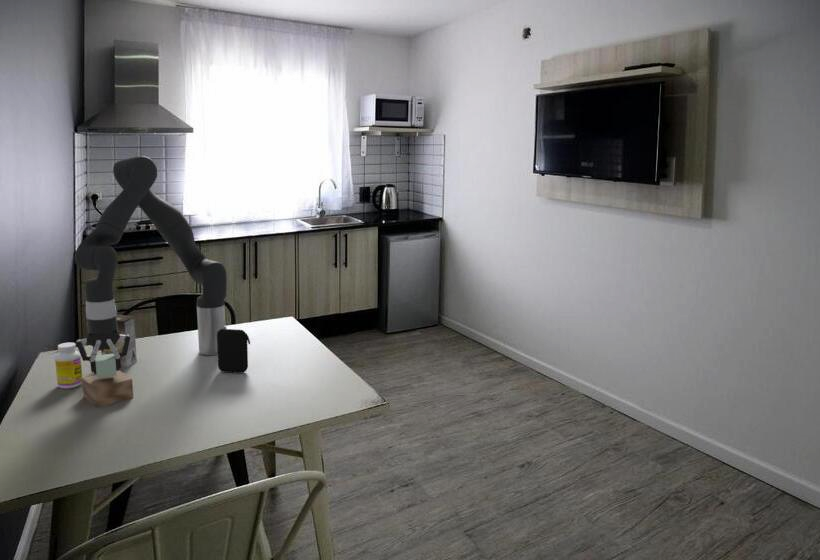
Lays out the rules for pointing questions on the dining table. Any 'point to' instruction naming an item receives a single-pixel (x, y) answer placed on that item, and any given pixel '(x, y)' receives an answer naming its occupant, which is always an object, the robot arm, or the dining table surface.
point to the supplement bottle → (68, 366)
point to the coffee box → (124, 327)
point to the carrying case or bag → (232, 350)
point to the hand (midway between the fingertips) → (106, 371)
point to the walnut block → (107, 389)
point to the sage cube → (105, 365)
